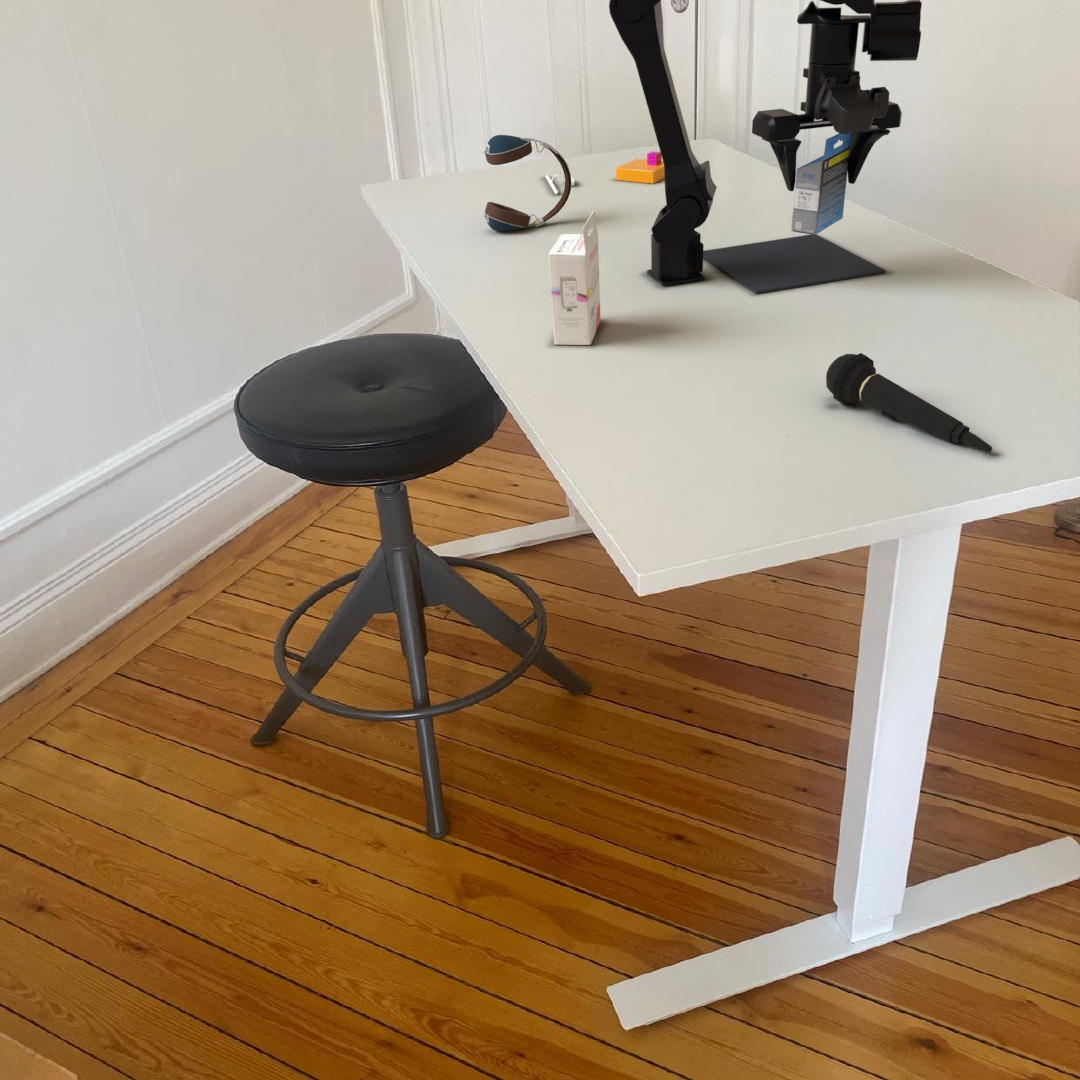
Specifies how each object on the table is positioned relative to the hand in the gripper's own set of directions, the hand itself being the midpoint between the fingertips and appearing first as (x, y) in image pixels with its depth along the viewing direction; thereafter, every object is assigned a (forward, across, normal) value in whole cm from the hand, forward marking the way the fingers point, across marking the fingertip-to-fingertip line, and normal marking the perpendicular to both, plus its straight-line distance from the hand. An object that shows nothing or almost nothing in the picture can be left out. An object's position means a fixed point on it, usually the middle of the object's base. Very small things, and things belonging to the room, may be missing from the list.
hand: (821, 186), depth 149 cm
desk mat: (+13, 0, +8) cm, 15 cm away
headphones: (+14, -33, +44) cm, 56 cm away
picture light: (+14, -16, +68) cm, 71 cm away
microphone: (+13, -14, -45) cm, 49 cm away
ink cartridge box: (+13, -37, -6) cm, 39 cm away
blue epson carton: (+5, 0, 0) cm, 5 cm away
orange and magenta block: (+13, 0, +66) cm, 68 cm away
